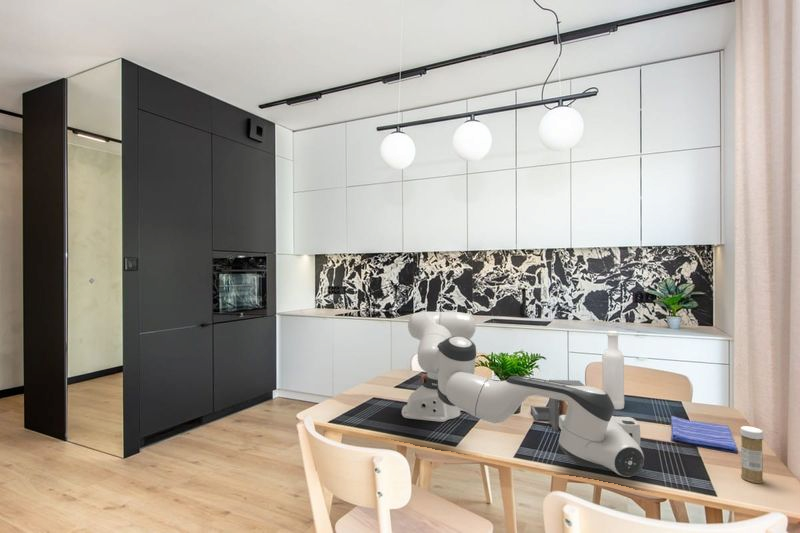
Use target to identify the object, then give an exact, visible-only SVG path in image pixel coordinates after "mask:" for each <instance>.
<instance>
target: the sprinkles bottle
mask: <svg viewBox="0 0 800 533" xmlns="http://www.w3.org/2000/svg"><path fill="white" fill-rule="evenodd" d="M739 433H740V436H741V446H740V447H741V448H740V450H741V451H740V453H741V454H740V456H741V458H740V460H741V461H740V464H741V474H740V476H741V478H742V480H744V481H746V482H749V483H753V484H762V483H763V482H764V479H763V477H764V476H763V475H764V474H763V469H764V460H763V459H764V458H763V439H764V432H763V430H762V429H760V428H758V427H754V426H747V425H746V426H745V425H744V426H741V427H740V432H739Z"/></svg>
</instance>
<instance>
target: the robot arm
mask: <svg viewBox="0 0 800 533" xmlns="http://www.w3.org/2000/svg"><path fill="white" fill-rule="evenodd" d="M407 329H408V333H409V334H410V336H411V337H412V338H413V339H416V340H419V341H420V342H419V344H418V347H417V363H418V365H419V367H420V369H421V370H422V371H424V372H426V374H422V375H421V378H420V379H421V386H420V387H418V388H417V389H415V390H414V391H413V392H411V393H410V395H409V397H408V400H407V404H405V405H403V407H402V408H401V415H402V417H403V418H405V419H410V420H411V419H412V420H421V421H430V422H440V423H442V422H446V421H448V420H451V419H456V418H458V417H459V416H460V415H461V410H462V411H464V412H466V413H467V414H469V415H471V416H473V417H476V418H478V419H479V420H481V421H482V420H483V421H485V422H487V423H491V424H500V423H503V422H505V421H507V420H508V419H510V418H511V417H512V416H513V415H514V414H515V412H516V411H517V410H518V409H519V407H520V406H521V404H522V403H523V402H525V400H526V399H527V398H529V397H531V396H537V397H544V398H548V399H549V398H552V399H557V400H558V401H559V400H562V401H566V402H567V403H568V408H567V412H566V415H560V416H559V424H558V428H559V429H560V434H559V438H558V445H559V447H560V449H561V450H562V452H563V453H564V455H565V456H566V457H568V459H569V460H571V461H572V462H574V463H575V464H577V465H581V466H583V467H587V468H594V469H595V468H596V469H597V468H603V467H605V468H608V469H609V470H611V471H613V472H614V473H616V474H617V475H619V476H622V477H627V478H630V477H634V476H636V475H638V473H640V472H641V471H642V468H643V467H644V463H645V456H644V452H643V449H642V448H641V447H640V445H641V426H640V423H639V422H638V421H637V420H636V419H635V418H633V417H630V416H615V415H613V413H614V412H615V411H614V410H616V409H615V408H614V405H613V403H612V400H611V399H610V397H609V395H608V394H607V393H606V392H604V391H602V389H600V388H598V387H595V386H589V385H585V386H578V385H571V384H565V383H559V382H554V381H549V379H543V378H542V379H541V378H535V377H530V376H524V375H523V376H522V375H511V376H509V377H508V378H507V379H506V380H493V379H491V378H489V377H488V378H487V377H485V376H481V375H478V374H476V373H475V371H476V358H477V347H476V344H475V343H474V341H473V340H471V339H472V338H473V336H474V334H475V333H476V329H477V328H476V322H475V320H474V318H473V316H472V315H471V314H469V313H465V312H461V311H460V312H459V311H419V312H415V313H412V315H411V316H410V317H409V319H408V322H407Z"/></svg>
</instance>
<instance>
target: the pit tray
mask: <svg viewBox="0 0 800 533" xmlns="http://www.w3.org/2000/svg"><path fill="white" fill-rule="evenodd" d="M530 414H531V415H532V418H533V419H534V421H535V422H549V406H536V405H531V406H530ZM558 421H559V406H558Z"/></svg>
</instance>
